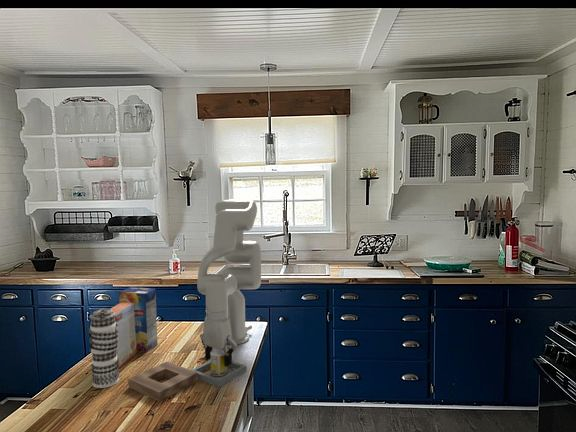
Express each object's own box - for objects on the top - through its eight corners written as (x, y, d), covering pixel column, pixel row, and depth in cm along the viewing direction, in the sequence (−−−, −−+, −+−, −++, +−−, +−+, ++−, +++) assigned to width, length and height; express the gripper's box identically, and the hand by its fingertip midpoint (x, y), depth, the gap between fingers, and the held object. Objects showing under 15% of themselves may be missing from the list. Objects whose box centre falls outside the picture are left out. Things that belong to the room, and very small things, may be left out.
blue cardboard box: (121, 349, 171) (118, 292, 169) (132, 342, 178) (129, 287, 176) (147, 352, 168) (145, 293, 166) (157, 344, 175) (155, 288, 173)
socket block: (167, 369, 153) (167, 361, 152) (198, 381, 144) (197, 372, 143) (128, 387, 140) (128, 378, 139) (159, 401, 130) (159, 392, 130)
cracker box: (123, 352, 168) (120, 301, 166) (137, 353, 167) (134, 302, 165) (103, 368, 154) (100, 312, 152) (118, 369, 153) (116, 313, 151)
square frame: (218, 361, 159) (218, 356, 158) (246, 371, 151) (246, 365, 150) (190, 376, 147) (190, 370, 147) (219, 387, 139) (219, 381, 139)
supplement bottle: (227, 369, 152) (226, 342, 151) (226, 376, 146) (225, 348, 146) (211, 370, 151) (210, 343, 151) (210, 377, 146) (209, 349, 145)
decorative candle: (92, 378, 146) (88, 308, 144) (120, 373, 150) (117, 305, 147) (90, 390, 138) (85, 316, 136) (120, 385, 141) (116, 313, 139)
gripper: (192, 312, 149) (193, 360, 150) (228, 321, 139) (229, 372, 140) (207, 307, 155) (208, 352, 156) (243, 315, 145) (244, 364, 147)
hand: (218, 361), depth 148 cm, fingers open, 8 cm apart
